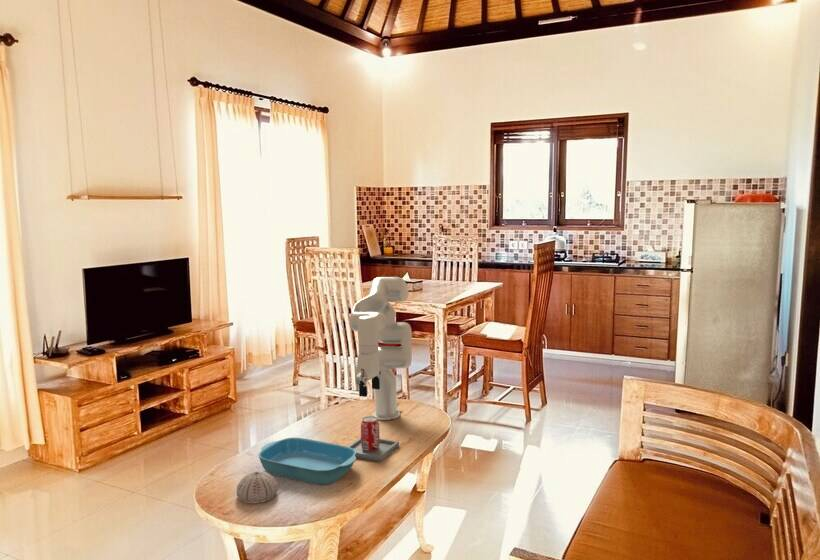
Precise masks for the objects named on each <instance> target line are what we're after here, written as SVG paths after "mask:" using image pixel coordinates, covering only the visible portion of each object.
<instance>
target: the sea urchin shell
mask: <svg viewBox="0 0 820 560" xmlns="http://www.w3.org/2000/svg"><path fill="white" fill-rule="evenodd" d="M278 485H279V483H278V480H277V479H276V478H275V477H274V476H273V474H271V473H269V472H267V471H261V470H256V471H253V472H251V473H248V474H247V475H245V476H244V477H243V478H242V479H240V481H239V482H238V484H237V486H236V491H235V493H236V496H237V499H238V500H239V501H241V500H242V501H241V502H243V503H245V502H261V503H263V502H266V501H265V500H267V501H269V500H271V499H272V498H274V497H275V495H276V494H277V493H278V490H279V486H278ZM268 499H269V500H268ZM262 501H263V502H262Z"/></svg>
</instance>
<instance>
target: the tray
mask: <svg viewBox="0 0 820 560" xmlns="http://www.w3.org/2000/svg"><path fill="white" fill-rule="evenodd" d="M347 447H350V448H353V449H355V450H356V451H357V453H356V459H360V460H366V461H372V462H376V463H380V462H382V461H383V460H384V459H385V458H387V457H389V456H390V455H391V454H392V453H393V452H394V451H395V450H396V449H398V448H399V447H400V441H396V440H391V439H386V438H381V437H380V444H379V448H378V449H377V450H376V451H373V452H367V451H365V450H363V449H362V446H361V436H360V437H359V438H358V439H356V440H355V441H353V442H352V443H350V444H349V445H348V446H347Z"/></svg>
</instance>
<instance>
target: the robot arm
mask: <svg viewBox="0 0 820 560" xmlns="http://www.w3.org/2000/svg"><path fill="white" fill-rule="evenodd" d="M368 289H369V290H368V293H367V296H365V297H363V298H362V299H360V300H359V301H356V302H355V304H354V305H353V307H352V309H351V312H350V315H349V320H348V323H349V325H348V326H349V328H350V329H351V330H352V331H354V332H357V333H358V334H357V335H358V336H357V338H358V342H357V343H358V345H357V346H358V355H357V361H356V362H357V363H356V376H355V379H356V383H357V386H358V396H359V397H363V398H367V397H368V386H367V383H368V381H369V380H371V388H372V390H374V405H375V410H374V411H372V414H371V416H372V417H376V418H377V420H378V421H390V420H391V419H393V420H396V419H398V418H399V417H400V416H401V413H400V412H401V411H400V410H398V409H397V408H398V407H399V406H400V402H399V401H397V376H396V375H395V373H394V371H393V370H392V369H408V368H409V367H410V366H411V365H412V355H413V354H412V352H413V351H412V350H413V349H412V344H413V342H412V341H413V338H412V337H413V336H412V335H413V334H412V333H413V331H412V327H411V324H410V323H408V322H405V321H400V322H399V321H397V322H396V311H395V308H394V306H392V304H391V302H392V303H396V302H397V303H401V302H402V303H403V302H406V301H407V299H408V298H409V292H410V291H409V286H408V285H407V283H406V281H405V280H404V279H403V278H402V277H400V276H378V277H375V278H373V280H372V281H371V283H370V286H369V288H368ZM379 343H381V344H392V345H393V344H396V345H397V344H399V345H401V346H388V345H386V346H379Z"/></svg>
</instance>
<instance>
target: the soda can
mask: <svg viewBox="0 0 820 560" xmlns="http://www.w3.org/2000/svg"><path fill="white" fill-rule="evenodd" d="M360 437H361V446H362V449H363V450H365V451H367V452H373V451H376V450H377V449H378V448H379V444H380V438H381V437H380V423H379V420H378V419H377V418H376V417H372V415H371V416H365V417H364V416H363V418H362V421H361V422H360Z"/></svg>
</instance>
